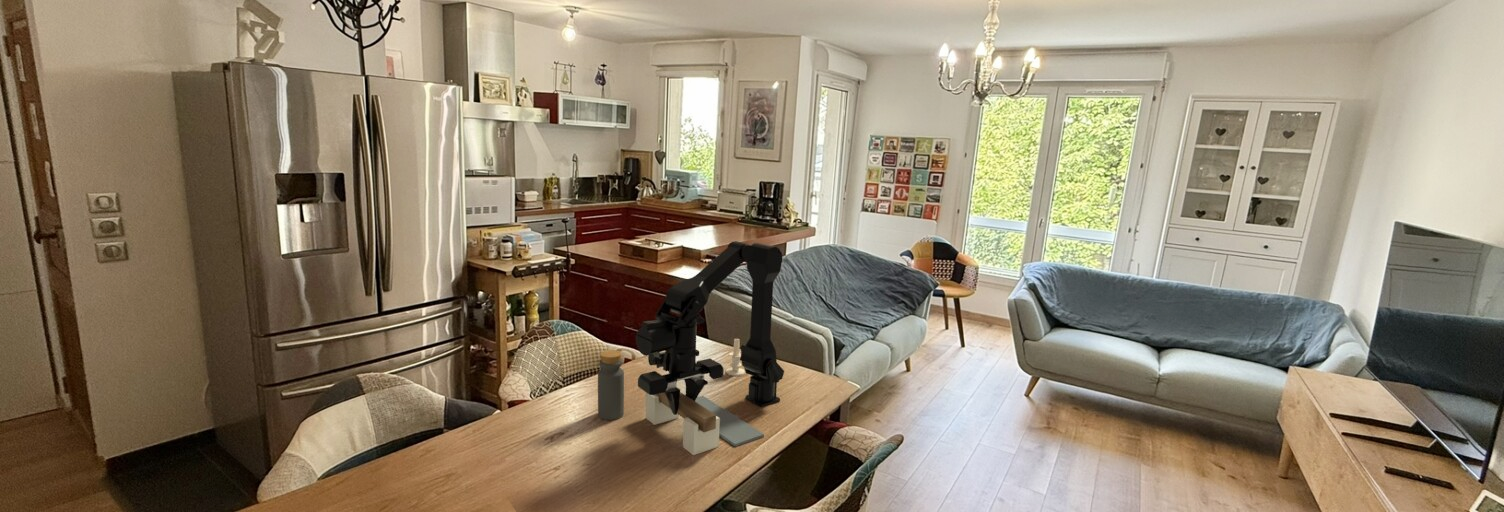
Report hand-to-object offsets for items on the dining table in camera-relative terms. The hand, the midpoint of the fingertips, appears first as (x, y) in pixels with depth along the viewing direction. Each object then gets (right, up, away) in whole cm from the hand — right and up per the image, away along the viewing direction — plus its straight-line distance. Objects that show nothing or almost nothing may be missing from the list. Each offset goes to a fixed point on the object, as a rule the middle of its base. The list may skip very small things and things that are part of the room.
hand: (681, 412), depth 133 cm
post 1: (-5, -3, +7) cm, 9 cm away
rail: (0, 0, 0) cm, 0 cm away
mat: (+8, -4, +7) cm, 11 cm away
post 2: (+5, -6, -5) cm, 9 cm away
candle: (+11, +2, +36) cm, 38 cm away
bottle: (-17, -3, +8) cm, 19 cm away
